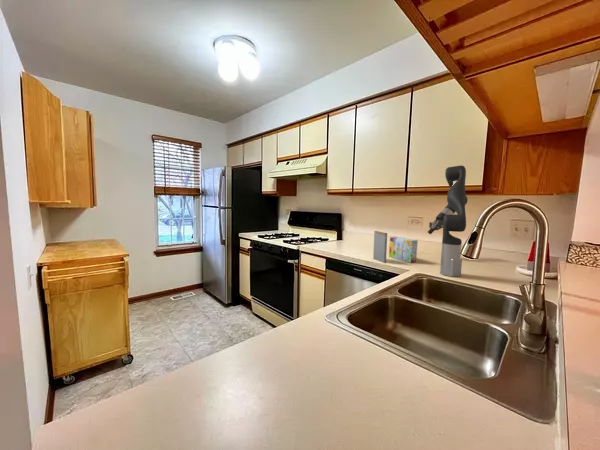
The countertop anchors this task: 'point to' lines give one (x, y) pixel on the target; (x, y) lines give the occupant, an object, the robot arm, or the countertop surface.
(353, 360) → the countertop surface
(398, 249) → the snack box
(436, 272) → the countertop surface
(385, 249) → the board
